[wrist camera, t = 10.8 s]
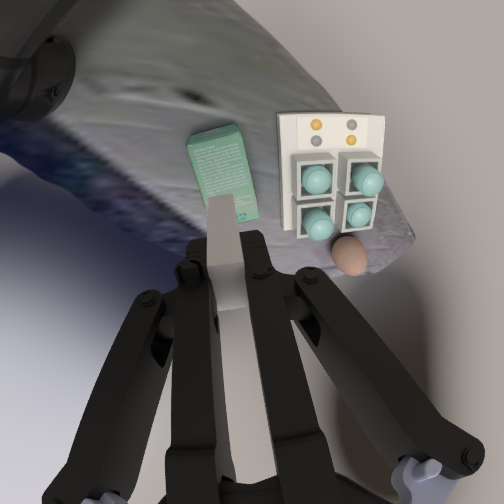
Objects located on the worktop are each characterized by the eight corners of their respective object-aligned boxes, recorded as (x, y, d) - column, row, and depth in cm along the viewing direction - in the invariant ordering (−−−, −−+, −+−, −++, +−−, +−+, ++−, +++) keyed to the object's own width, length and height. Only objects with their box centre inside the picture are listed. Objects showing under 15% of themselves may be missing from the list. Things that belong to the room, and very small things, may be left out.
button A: (297, 161, 39) (304, 168, 37) (325, 160, 39) (332, 166, 37) (298, 188, 42) (304, 196, 39) (324, 185, 42) (331, 193, 40)
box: (236, 120, 37) (240, 129, 31) (255, 197, 45) (262, 219, 39) (189, 133, 37) (183, 145, 32) (213, 208, 46) (213, 231, 40)
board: (276, 113, 37) (285, 118, 33) (378, 114, 38) (396, 120, 34) (281, 224, 49) (288, 241, 45) (369, 214, 50) (382, 229, 46)
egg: (329, 228, 51) (347, 257, 44) (358, 228, 52) (379, 255, 44) (323, 256, 55) (339, 286, 48) (351, 254, 56) (369, 283, 48)
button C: (351, 163, 38) (361, 171, 35) (375, 163, 38) (386, 170, 36) (349, 189, 40) (358, 198, 38) (373, 187, 41) (382, 196, 38)
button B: (302, 208, 42) (308, 219, 39) (328, 206, 42) (335, 215, 39) (301, 232, 44) (307, 243, 42) (326, 229, 45) (333, 239, 42)
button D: (343, 198, 44) (350, 206, 41) (365, 196, 44) (373, 204, 41) (341, 220, 46) (348, 229, 44) (362, 217, 47) (370, 226, 44)
